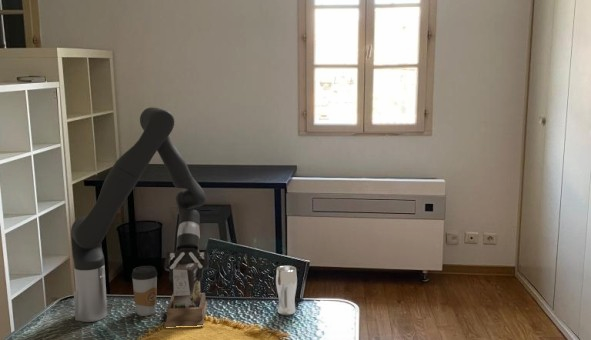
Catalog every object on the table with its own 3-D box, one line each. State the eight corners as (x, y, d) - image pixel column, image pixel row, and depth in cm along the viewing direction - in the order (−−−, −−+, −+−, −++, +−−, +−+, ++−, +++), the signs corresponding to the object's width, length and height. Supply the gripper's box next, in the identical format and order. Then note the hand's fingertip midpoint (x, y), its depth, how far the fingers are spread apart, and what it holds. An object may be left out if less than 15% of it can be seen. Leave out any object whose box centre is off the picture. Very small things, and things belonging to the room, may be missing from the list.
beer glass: (297, 307, 188) (297, 265, 186) (295, 316, 181) (295, 272, 179) (277, 307, 189) (277, 264, 187) (275, 315, 182) (274, 271, 180)
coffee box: (193, 318, 177) (191, 269, 175) (173, 317, 178) (171, 268, 176) (201, 307, 186) (200, 261, 184) (183, 306, 187) (181, 260, 185)
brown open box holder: (164, 328, 172) (163, 313, 171) (172, 304, 191) (172, 290, 191) (203, 327, 173) (202, 312, 172) (207, 303, 192) (207, 289, 192)
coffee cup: (143, 319, 179) (141, 274, 177) (128, 313, 184) (125, 270, 182) (164, 311, 185) (162, 268, 183) (148, 305, 190) (146, 263, 188)
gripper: (166, 232, 186) (162, 276, 176) (208, 231, 187) (207, 275, 177) (168, 243, 192) (165, 286, 182) (210, 242, 193) (208, 285, 183)
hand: (185, 281), depth 180 cm, fingers open, 8 cm apart
